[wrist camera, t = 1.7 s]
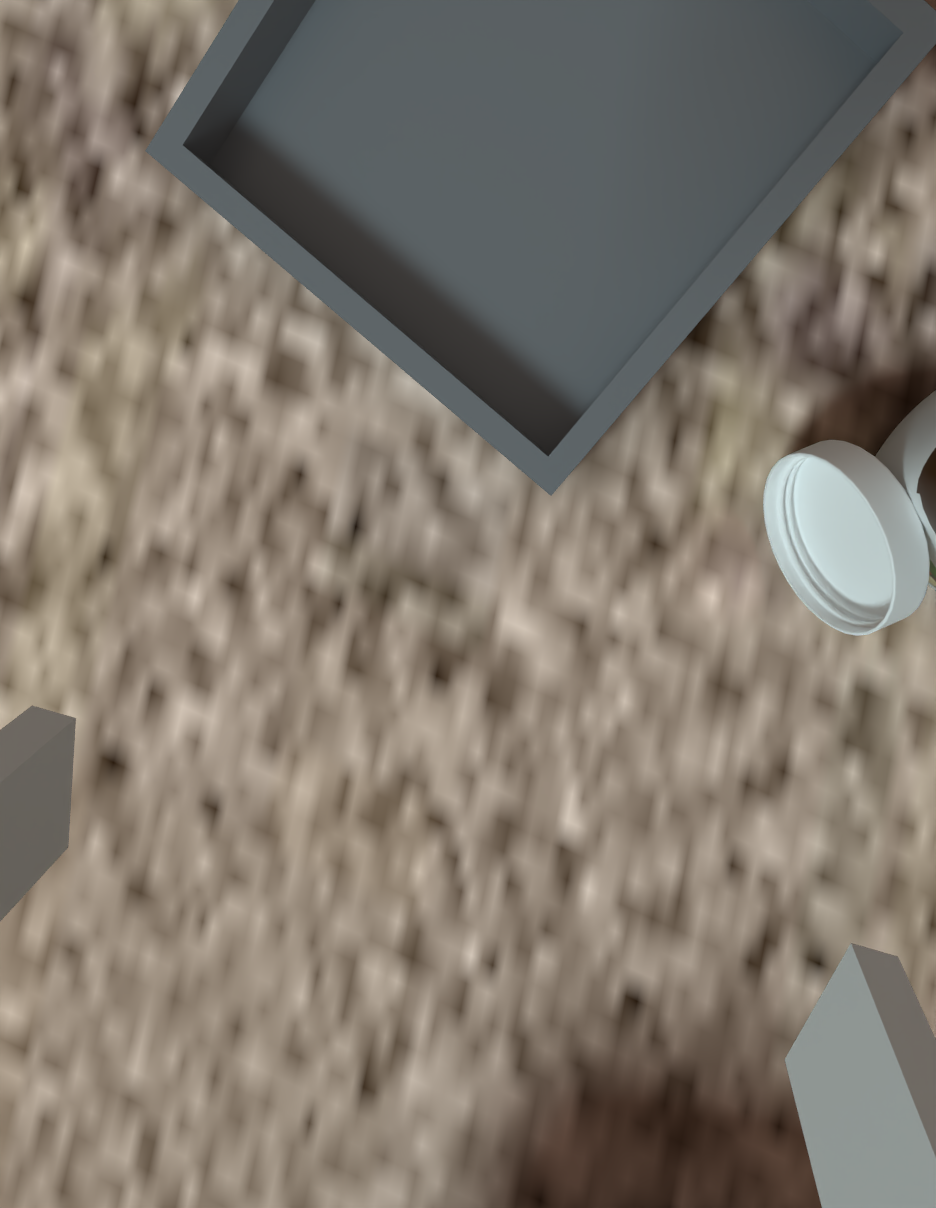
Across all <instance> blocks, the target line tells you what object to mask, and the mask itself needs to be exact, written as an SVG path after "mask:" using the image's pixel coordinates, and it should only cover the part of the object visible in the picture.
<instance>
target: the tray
mask: <svg viewBox="0 0 936 1208" xmlns="http://www.w3.org/2000/svg"><path fill="white" fill-rule="evenodd" d="M935 44H936V11H935V10H934V9H933V8H932V7H931V6H930V5H929V4H928V3H927V2H925V1H924V0H239V1H238V3H237V4H236V6H235V7H234V9H233V11H232V12H231V14H230V15H229V17H228V19H227V20H226V22H225V23H224V25H223V27H222V28H221V30H220V32H219V33H218V35H217V36H216V38H215V40H214V41H213V43H212V44H211V46H210V48H209V49H208V51H207V52H206V54H205V56H204V57H203V59H202V60H201V62H200V64H199V65H198V67H197V69H196V70H195V72H194V73H193V75H192V77H191V78H190V80H189V81H188V83H187V85H186V86H185V88H184V89H183V91H182V93H181V94H180V96H179V98H178V99H177V101H176V102H175V104H174V106H173V107H172V109H171V110H170V112H169V114H168V115H167V117H166V118H165V120H164V122H163V123H162V125H161V127H160V128H159V130H158V131H157V133H156V135H155V136H154V138H153V139H152V141H151V143H150V144H149V146H148V147H147V149H146V152H147V153H148V154H150V155H151V156H152V157H153V158H154V159H155V160H157V161H158V162H159V163H160V164H161V165H162V166H164V167H165V168H166V169H167V170H168V171H170V172H171V173H172V174H173V175H174V176H175V177H177V178H178V179H179V180H180V181H181V182H182V183H184V184H185V185H186V186H187V187H188V188H190V189H191V190H192V191H193V192H194V193H195V194H197V195H198V196H199V197H200V198H201V199H202V200H204V201H205V202H206V203H207V204H208V205H210V206H211V207H212V208H213V209H214V210H215V211H217V212H218V213H219V214H220V215H221V216H222V217H224V218H225V219H226V220H227V221H228V222H230V223H231V224H232V225H233V226H234V227H235V228H237V229H238V230H239V231H240V232H241V233H242V234H244V235H245V236H246V237H247V238H248V239H250V240H251V241H252V242H253V243H254V244H255V245H257V246H258V247H259V248H260V249H261V250H262V251H264V252H265V253H266V254H267V255H268V256H270V257H271V258H272V259H273V260H274V261H275V262H277V263H278V264H279V265H280V266H281V267H282V268H284V269H285V270H286V271H287V272H288V273H290V274H291V275H292V276H293V277H294V278H295V279H297V280H298V281H299V282H300V283H301V284H302V285H304V286H305V287H306V288H307V289H308V290H310V291H311V292H312V293H313V294H314V295H315V296H317V297H318V298H319V299H320V300H321V301H322V302H324V303H325V304H326V305H327V306H328V307H330V308H331V309H332V310H333V311H334V312H335V313H337V314H338V315H339V316H340V317H341V318H342V319H344V320H345V321H346V322H347V323H348V324H350V325H351V326H352V327H353V328H354V329H355V330H357V331H358V332H359V333H360V334H361V335H362V336H364V337H365V338H366V339H367V340H368V341H370V342H371V343H372V344H373V345H374V346H375V347H377V348H378V349H379V350H380V351H381V352H382V353H384V354H385V355H386V356H387V357H388V358H390V359H391V360H392V361H393V362H394V363H395V364H397V365H398V366H399V367H400V368H401V369H402V370H404V371H405V372H406V373H407V374H408V375H410V376H411V377H412V378H413V379H414V380H415V381H417V382H418V383H419V384H420V385H421V386H422V387H424V388H425V389H426V390H427V391H428V392H430V393H431V394H432V395H433V396H434V397H435V398H437V399H438V400H439V401H440V402H441V403H442V404H444V405H445V406H446V407H447V408H448V409H450V410H451V411H452V412H453V413H454V414H455V415H457V416H458V417H459V418H460V419H461V420H462V421H464V422H465V423H466V424H467V425H468V426H469V427H471V428H472V429H473V430H474V431H475V432H477V433H478V434H479V435H480V436H481V437H482V438H484V439H485V440H486V441H487V442H488V443H489V444H491V445H492V446H493V447H494V448H495V449H497V450H498V451H499V452H500V453H501V454H502V455H504V456H505V457H506V458H507V459H508V460H509V461H511V462H512V463H513V464H514V465H515V466H517V467H518V468H519V469H520V470H521V471H522V472H524V473H525V474H526V475H527V476H528V477H529V478H531V479H532V480H533V481H534V482H535V483H537V484H538V485H539V486H540V487H541V488H542V489H544V490H545V491H546V492H547V493H548V494H549V495H552V494H553V493H554V492H555V491H556V489H557V488H558V487H559V486H560V485H561V483H562V482H563V481H564V480H565V479H566V478H567V476H568V475H569V474H570V473H571V472H572V471H573V469H574V468H575V467H576V466H577V465H578V464H579V462H580V461H581V460H582V459H583V458H584V456H585V455H586V454H587V453H588V452H589V451H590V449H591V448H592V447H593V446H594V445H595V444H596V442H597V441H598V440H599V439H600V438H601V437H602V435H603V434H604V433H605V432H606V431H607V429H608V428H609V427H610V426H611V425H612V424H613V422H614V421H615V420H616V419H617V418H618V417H619V415H620V414H621V413H622V412H623V411H624V409H625V408H626V407H627V406H628V405H629V404H630V402H631V401H632V400H633V399H634V398H635V397H636V395H637V394H638V393H639V392H640V391H641V390H642V388H643V387H644V386H645V385H646V384H647V382H648V381H649V380H650V379H651V378H652V377H653V375H654V374H655V373H656V372H657V371H658V370H659V368H660V367H661V366H662V365H663V364H664V362H665V361H666V360H667V359H668V358H669V357H670V355H671V354H672V353H673V352H674V351H675V350H676V348H677V347H678V346H679V345H680V344H681V343H682V341H683V340H684V339H685V338H686V337H687V335H688V334H689V333H690V332H691V331H692V330H693V328H694V327H695V326H696V325H697V324H698V323H699V321H700V320H701V319H702V318H703V317H704V316H705V314H706V313H707V312H708V311H709V310H710V308H711V307H712V306H713V305H714V304H715V303H716V301H717V300H718V299H719V298H720V297H721V296H722V294H723V293H724V292H725V291H726V290H727V288H728V287H729V286H730V285H731V284H732V283H733V281H734V280H735V279H736V278H737V277H738V276H739V274H740V273H741V272H742V271H743V270H744V269H745V267H746V266H747V265H748V264H749V263H750V261H751V260H752V259H753V258H754V257H755V256H756V254H757V253H758V252H759V251H760V250H761V249H762V247H763V246H764V245H765V244H766V243H767V241H768V240H769V239H770V238H771V237H772V236H773V234H774V233H775V232H776V231H777V230H778V229H779V227H780V226H781V225H782V224H783V223H784V222H785V220H786V219H787V218H788V217H789V216H790V214H791V213H792V212H793V211H794V210H795V209H796V207H797V206H798V205H799V204H800V203H801V202H802V200H803V199H804V198H805V197H806V196H807V195H808V193H809V192H810V191H811V190H812V189H813V187H814V186H815V185H816V184H817V183H818V182H819V180H820V179H821V178H822V177H823V176H824V175H825V173H826V172H827V171H828V170H829V169H830V167H831V166H832V165H833V164H834V163H835V162H836V160H837V159H838V158H839V157H840V156H841V155H842V153H843V152H844V151H845V150H846V149H847V148H848V146H849V145H850V144H851V143H852V142H853V140H854V139H855V138H856V137H857V136H858V135H859V133H860V132H861V131H862V130H863V129H864V128H865V126H866V125H867V124H868V123H869V122H870V121H871V119H872V118H873V117H874V116H875V115H876V113H877V112H878V111H879V110H880V109H881V108H882V106H883V105H884V104H885V103H886V102H887V101H888V99H889V98H890V97H891V96H892V95H893V93H894V92H895V91H896V90H897V89H898V88H899V86H900V85H901V84H902V83H903V82H904V81H905V79H906V78H907V77H908V76H909V75H910V74H911V72H912V71H913V70H914V69H915V68H916V66H917V65H918V64H919V63H920V62H921V61H922V59H923V58H924V57H925V56H926V55H927V54H928V52H929V51H930V50H931V49H932V48H933V46H934V45H935Z"/></svg>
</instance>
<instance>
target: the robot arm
mask: <svg viewBox="0 0 936 1208" xmlns="http://www.w3.org/2000/svg"><path fill="white" fill-rule="evenodd" d="M75 724H76V718H73V717H70V716H66V715H63V714H59V713H56V712H53V711H49V710H46V709H42V708H39V707H35V706H31V707H30V708H28V709H27V710H26V711H25V712H23V713H22V714H21V715H19V716H18V717H17V718H15V719H14V720H13V721H11V722H10V723H9V724H8V725H6V726H5V727H4V728H2V729H1V730H0V921H1V920H2V919H3V918H4V917H5V916H6V915H7V914H8V912H9V911H10V910H11V909H12V908H13V907H14V906H15V905H16V904H17V903H18V902H19V900H20V899H21V898H22V897H23V896H24V895H25V894H26V893H27V892H28V891H29V890H30V888H31V887H32V886H33V885H34V884H35V883H36V882H37V881H38V880H39V879H40V878H41V876H42V875H43V874H44V873H45V872H46V871H47V870H48V869H49V868H50V867H51V866H52V864H53V863H54V862H55V861H56V860H57V859H58V858H59V857H60V856H61V855H62V854H63V852H64V851H65V850H66V849H67V848H68V842H69V825H70V808H71V791H72V775H73V758H74V741H75ZM785 1063H786V1067H787V1071H788V1075H789V1079H790V1083H791V1087H792V1091H793V1094H794V1098H795V1102H796V1106H797V1110H798V1114H799V1118H800V1122H801V1126H802V1130H803V1134H804V1138H805V1142H806V1146H807V1150H808V1154H809V1158H810V1162H811V1166H812V1170H813V1174H814V1178H815V1182H816V1186H817V1190H818V1194H819V1198H820V1202H821V1206H822V1208H936V1039H935V1037H934V1035H933V1032H932V1030H931V1028H930V1026H929V1024H928V1021H927V1019H926V1017H925V1015H924V1013H923V1010H922V1008H921V1006H920V1004H919V1002H918V999H917V997H916V995H915V993H914V991H913V989H912V986H911V984H910V982H909V980H908V978H907V975H906V973H905V971H904V969H903V967H902V964H901V962H900V960H899V958H898V957H897V956H894V955H890V954H887V953H883V952H880V951H877V950H873V949H870V948H866V947H863V946H859V945H856V944H852V943H851V944H850V946H849V948H848V949H847V951H846V953H845V955H844V956H843V958H842V960H841V962H840V963H839V965H838V967H837V969H836V970H835V972H834V974H833V976H832V977H831V979H830V981H829V983H828V984H827V986H826V988H825V990H824V991H823V993H822V995H821V997H820V998H819V1000H818V1002H817V1004H816V1005H815V1007H814V1009H813V1011H812V1012H811V1014H810V1016H809V1018H808V1019H807V1021H806V1023H805V1025H804V1026H803V1028H802V1030H801V1032H800V1033H799V1035H798V1037H797V1039H796V1040H795V1042H794V1044H793V1046H792V1048H791V1049H790V1051H789V1053H788V1055H787V1056H786V1058H785Z"/></svg>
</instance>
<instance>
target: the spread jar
mask: <svg viewBox="0 0 936 1208" xmlns="http://www.w3.org/2000/svg"><path fill="white" fill-rule="evenodd" d="M763 509H764V520H765V525H766V530H767V535H768V538H769V541H770V544H771V547H772V550H773V553H774V555H775V558H776V560H777V562H778V565H779V567H780V569H781V571H782V572H783V574H784V576H785V578H786V580H787V581H788V583H789V584H790V586H791V587H792V589H793V590H794V592H795V593H796V595H797V596H798V597H799V598H800V600H801V601H802V602H803V603H804V604H805V605H806V606H807V608H808V609H809V610H810V611H812V612H813V613H814V614H815V615H816V616H817V617H818V618H819V619H820V620H822V621H823V622H825V623H826V624H828V625H829V626H831V627H832V628H834V629H837V630H839V631H841V632H843V633H847V634H852V635H868V634H871V633H873V632H875V631H877V630H879V629H882V628H884V627H886V626H888V625H891V624H893V623H895V622H897V621H900V620H902V619H904V618H906V617H908V616H910V615H911V614H912V613H913V612H914V611H915V610H916V609H917V608H918V607H919V606H920V604H921V602H922V600H923V598H924V596H925V594H926V590H927V586H928V585H930V586H931V587H932V588H933V589H934V590H936V390H935V391H934V392H933V393H931V394H930V395H929V396H928V397H926V398H925V399H924V400H923V401H922V402H921V403H919V404H918V405H917V406H916V407H915V408H914V409H913V410H912V411H911V412H910V413H909V414H908V415H907V416H906V417H905V418H904V419H903V420H902V421H901V422H900V423H899V425H898V426H897V427H896V428H895V429H894V431H893V432H892V433H891V434H890V436H889V437H888V438H887V440H886V441H885V442H884V444H883V445H882V447H881V448H880V450H879V451H878V453H877V454H876V456H873V455H872V454H870V453H869V452H867V451H865V450H864V449H862V448H861V447H859V446H856V445H854V444H851V443H849V442H846V441H840V440H826V441H820V442H818V443H815V444H813V445H810V446H808V447H805V448H803V449H801V450H798V451H796V452H793V453H791V454H788V455H787V456H785V457H783V458H781V459H780V460H779V461H778V462H777V463H776V464H775V465H774V466H773V467H772V469H771V471H770V473H769V475H768V477H767V480H766V484H765V489H764V499H763Z"/></svg>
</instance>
